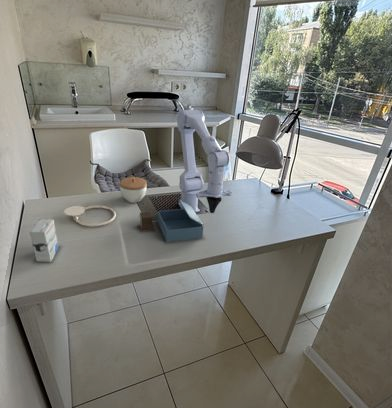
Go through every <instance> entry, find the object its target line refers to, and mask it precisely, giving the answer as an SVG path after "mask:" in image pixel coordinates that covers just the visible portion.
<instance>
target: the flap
mask: <svg viewBox="0 0 392 408" xmlns="http://www.w3.org/2000/svg"><path fill="white" fill-rule="evenodd" d="M178 202H179V203H181V205H182V206H183V208H184V210H185V211H186V213H187V214H188V216H189V218H191V219H192V220H194V221H196V222H198V223H199V224H201V225H203V226H204V223H203V221H202V220H201V219H200V217H199V216H198V214H197V212H195V211H194V210H193V208H192V207H191V206H189V205H188V204H186V203H185V202H183V201H181V198H178Z"/></svg>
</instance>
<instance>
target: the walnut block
mask: <svg viewBox="0 0 392 408" xmlns="http://www.w3.org/2000/svg"><path fill="white" fill-rule="evenodd" d="M153 223H154V222H153V215H152V213H151V211H144V212H139V227H140V230H141V232H147V231H152V230H153V228H154V227H153V225H154V224H153Z"/></svg>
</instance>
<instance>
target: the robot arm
mask: <svg viewBox="0 0 392 408" xmlns="http://www.w3.org/2000/svg"><path fill="white" fill-rule="evenodd" d="M176 123H177V131H178V132H180V138H181V148H182V149H181V150H182V157H183V164H184V165H183V166H184V170H183V172H182V173H181V174H180V175H179V184H178V186H179V189H180V191H181V192H180V200H181V201H183V202H185V203H186V204H188V205H189V206H191V207H192V208H193V210H194V211H195V213H197V212H201V209H200V208H199V207H198V203H199V199H201V198H205V199H206V201H207V204H208V211H209V213H210V214H215V211H216V210H217V207H218V206H219V204H220V203H221V202H222V197H226V196H227V197H231V196H232V190H230V189H223V185H224V184H223V183H224V175H225V169H226V167H227V166H229V163H230V156H229V153H228V151H227V150H224V149H223V148H221V146H220V145H219V143H218V141H217V140H216V138H215V136H213V135H211V134H210V132H209V130H208V127H207V125H206V123H205V115H204V112H203V110H202V109H180V110H179V111H178V112H177V115H176ZM194 132H196V134H197V136H198V137H199V138H200V139H201V146H202V148H203V150H204V152H205V154H206V156H207V159H206V160H207V165H208V179H207V180H208V181H207V188H206V189H204V190H203V188H204V180H203V175H202V173H201V172H200V171H198V170H197V165H196V164H197V163H196V154H195V153H196V152H195V144H194V143H195V142H194ZM178 206H179V208H180V209H184V208H183V206H182V205H181V203H180V202H178Z"/></svg>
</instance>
